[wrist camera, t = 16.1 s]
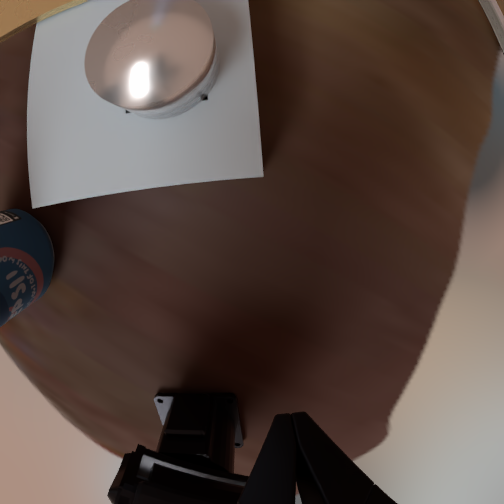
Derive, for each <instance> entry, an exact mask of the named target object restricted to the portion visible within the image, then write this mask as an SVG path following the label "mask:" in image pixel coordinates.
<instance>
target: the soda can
mask: <svg viewBox="0 0 504 504" xmlns="http://www.w3.org/2000/svg"><path fill="white" fill-rule="evenodd" d="M53 268H54V250H53V245H52V242H51V239H50V236H49V234H48V232H47V231H46V229H45V228H44V226H43V225H42V224H41V223H40V222H39V221H38V220H37V219H35V218H34V217H33V216H32V215H30V214H29V213H27V212H25V211H23V210H20V209H9V210H5V211H1V212H0V327H1V326H2V325H3V324H5V323H6V322H7V321H9V320H10V319H11V318H13V317H14V316H15V315H17V314H18V313H19V312H21V311H22V310H24V309H25V308H26V307H28V306H29V305H30V304H32V303H33V302H35V301H36V300H37V299H39V298H40V297H41V296H42V295H43V294H44V293H45V292H46V290H47V289H48V287H49V284H50V281H51V278H52V273H53Z"/></svg>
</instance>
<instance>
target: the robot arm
mask: <svg viewBox="0 0 504 504" xmlns="http://www.w3.org/2000/svg"><path fill="white" fill-rule="evenodd" d="M160 399H162V400H160ZM228 399H232V400H228ZM154 402H155V405H156V407H157V410H158V413H159V416H160V419H161V421H162V424H163V429H162V432H161V436H160V439H159V443H158V446H157V450H156V452H155V451H152V450H150V449H147V448H146V447H145V446H142V445H139V444H138V446H137V449H136V451H135V452H133V451H132V453H127V454H125V455H124V457H123V460H122V463H121V466H120V468H119V471H118V473H117V475H116V477H115V479H114V481H113V483H112V485H111V487H110V489H109V492H108V498H109V499H110V501H111V503H112V504H295V492H296V482H297V486H298V490H299V494H300V498H301V501H302V504H397V503H396V502H395V501H394V500H392V499H391V498H390V497H389V496H388V495H387V494H386V493H384V492H383V491H382V490H381V489H380V488H379V487H378V486H377V485H376V484H375V485H374V482H373V481H372V480H371V479H370V478H369V477H368V476H366V474H365V473H364V472H363V471H362V470H361V469H359V467H358V466H357V465H356V464H355V463H354V462H353V461H352V460H351V459H350V458H349V457H348V456H347V455H346V454H345V453H344V452H343V451H342V450H341V449H340V448H339V447H338V446H337V445H336V444H335V443H334V442H333V441H332V440H331V439H330V438H329V437H328V435H327V434H326V433H325V432H324V431H323V430H322V429H321V428H320V427H319V426H318V425H317V424H316V423H315V422H314V420H313V419H312V418H311V417H310V416H309V415H308V414H307V413H306V412H295V413H292V414H291V415H290V414H289V413H286V414H277V415H276V416H275V417H274V420H273V422H272V425H271V427H270V430H269V432H268V435H267V437H266V439H265V442H264V444H263V446H262V449H261V451H260V453H259V456H258V458H257V460H256V463H255V465H254V467H253V469H252V471H251V474H250V476H244V475H239V474H234V452H235V448H240V447H242V446H243V436H242V429H241V423H240V416H239V410H238V403H237V397H236V395H235V394H232V393H215V394H168V393H158V394H156V395H155V398H154Z"/></svg>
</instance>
